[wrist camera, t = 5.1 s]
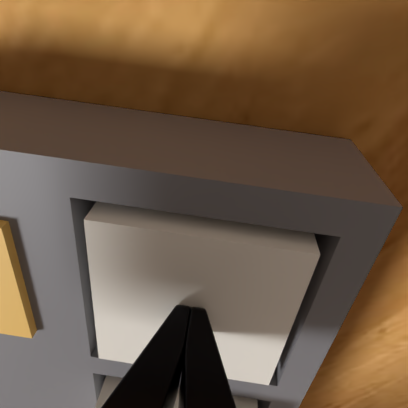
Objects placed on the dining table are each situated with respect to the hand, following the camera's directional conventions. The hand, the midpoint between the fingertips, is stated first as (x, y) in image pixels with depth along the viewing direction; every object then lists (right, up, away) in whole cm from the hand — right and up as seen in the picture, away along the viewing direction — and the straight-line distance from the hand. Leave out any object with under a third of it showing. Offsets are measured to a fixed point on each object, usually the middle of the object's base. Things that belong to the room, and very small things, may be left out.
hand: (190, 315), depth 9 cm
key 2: (0, +1, +2) cm, 3 cm away
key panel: (-3, -4, +8) cm, 9 cm away
